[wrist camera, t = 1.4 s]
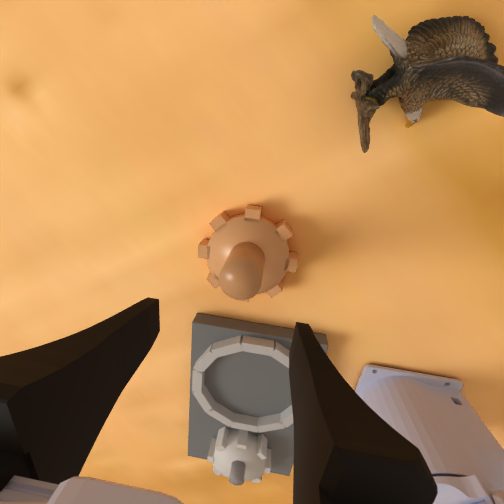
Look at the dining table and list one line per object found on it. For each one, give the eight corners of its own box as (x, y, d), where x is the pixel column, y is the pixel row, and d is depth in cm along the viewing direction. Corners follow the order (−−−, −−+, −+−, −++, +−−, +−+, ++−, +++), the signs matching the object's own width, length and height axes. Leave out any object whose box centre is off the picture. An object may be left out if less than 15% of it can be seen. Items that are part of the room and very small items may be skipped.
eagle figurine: (360, 181, 18) (521, 149, 15) (362, 118, 12) (645, 39, 9) (347, 92, 20) (492, 45, 17) (343, -8, 13) (579, -116, 10)
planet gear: (305, 212, 21) (313, 232, 16) (288, 299, 24) (289, 339, 19) (205, 198, 21) (181, 213, 16) (201, 285, 24) (180, 320, 19)
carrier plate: (325, 334, 25) (335, 376, 20) (288, 462, 33) (290, 513, 28) (197, 313, 26) (178, 348, 21) (191, 443, 34) (177, 489, 29)
